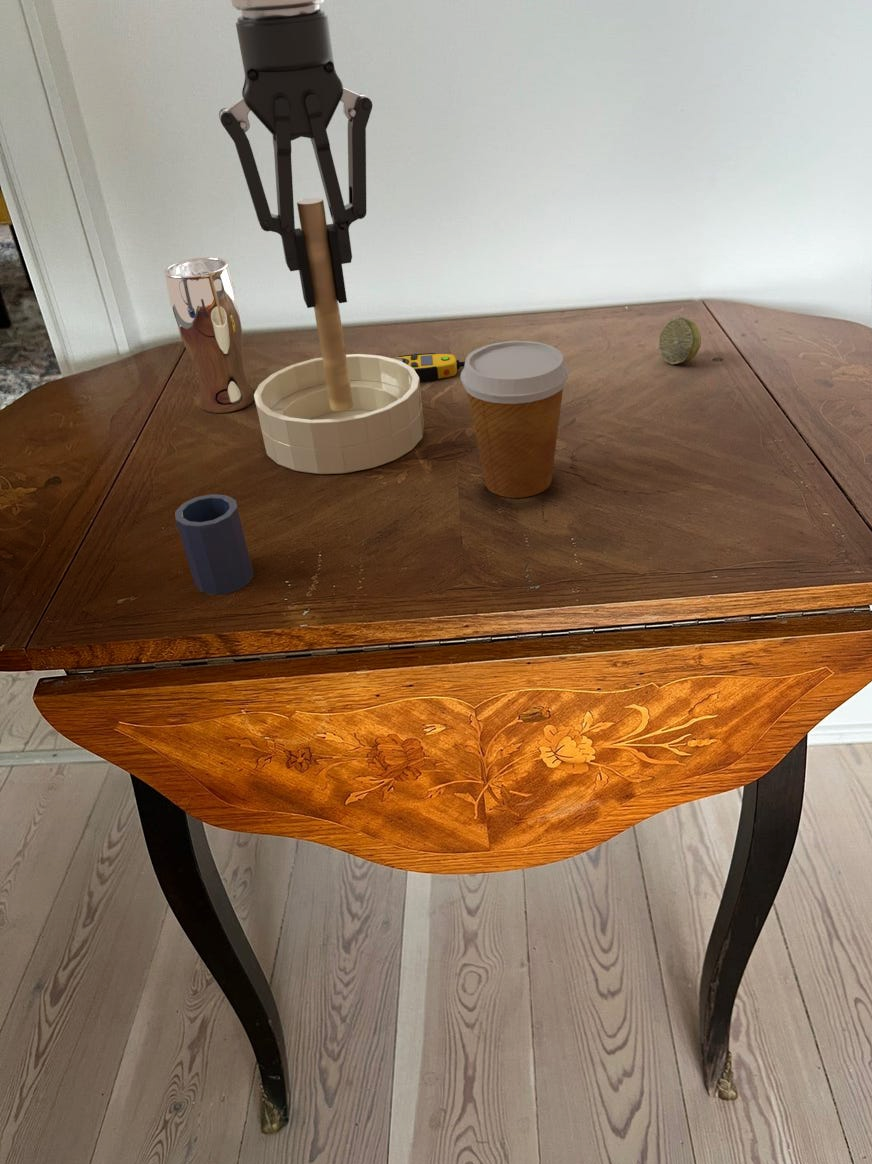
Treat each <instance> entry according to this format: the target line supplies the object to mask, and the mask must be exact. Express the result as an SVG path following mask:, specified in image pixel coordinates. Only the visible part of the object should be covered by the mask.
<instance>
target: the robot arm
mask: <svg viewBox="0 0 872 1164" xmlns="http://www.w3.org/2000/svg"><path fill="white" fill-rule="evenodd" d="M324 1H325V0H231V5H232V7H233V8H235V10H237V11H240V13H241V16H239V17H238V18H237V21H236V22H235V28H236V34H237V39H238V44H239V50H240V56H241V60H242V61H241V62H242V67H243V73H244V83H243V87H242V89H241V90H242V91H241V96H242V97H241V98H240V99H239V100H237V101H236V102H235V103H233V104H232V105H230V106H229V107H223V108H221V109H220V110H219V111H218V118H219V121H220V123H221V125H222V126H223V128H224V129H225V131H226V133H227V134H228V135H229V137H230V138H231V140H232V141H233V143H234V146H235V150H236V153H237V156H238V160H239V162H240V165H241V169H242V172H243V175H244V179H245V182H246V186H247V187H248V191H249V195H250V198H251V201H252V205H253V208H254V211H255V214H256V218H257V221H258V224H259V226H260V228H261V229H262V231H264V232H272V233H276V234H278V235H280V237H281V245H282V249H283V254H284V261H285V264H286V266H287V268H288V270H289V272H297V271H298V273H299V278H300V284H301V285H300V286H301V291H302V297H303V300H304V303H305V305H306V308H307V309H310V308H314V307H315V301H314V295H313V289H312V283H311V276H310V270H309V264H308V258H307V251H306V245H305V239H304V235H303V233H302V231H301V227H298V228H296V225H295V223H296V222H295V207H294V205H295V204H294V186H293V185H294V184H293V168H292V165H293V163H292V141H294V140H297V139H300V138H307V139H310V142H311V145H312V148H313V152H314V156H315V160H316V163H317V168H318V171H319V175H320V180H321V182H322V187H323V190H324V194H325V199H326V202H327V206H328V210H329V214H330V218H331V220H332V223H329V224H328V223H327V230H328V237H329V244H330V251H331V257H332V264H333V271H334V278H335V285H336V292H337V298H338V304H344V303H348V299H347V292H346V283H345V278H344V271H343V270H344V269H343V265H344V264H351V263H352V259H353V253H352V245H351V237H350V231H349V230H350V226H351V225H352V223H354V222H356V221H357V220H362V219H365V217H366V216H367V125H368V123H369V119H370V116H371V113H372V110H373V102H372V100H371V98H369V97H368V96H366V95H365V94H364V93H361V92H360V93H356V92H355V91H352V90H350V89H347V88H346V87H344V85H343V82H342V80H341V79H340V77H339V75H338V73H337V70H336V68H335V61H334V53H333V47H332V45H333V44H332V38H331V31H330V30H331V29H330V24H329V23H330V22H329V16H328V14H326V11H325V10H322V9H321V7H320V4H323V3H324ZM340 102H341V104H342V112H343V115H344V117H346V118H347V174H348V176H347V177H348V179H347V180H348V203H347V204H345V203H344V198H343V194H342V190H341V187H340V182H339V179H338V175H337V170H336V167H335V166H336V165H335V162H334V159H333V155H332V154H333V153H332V151H331V144H330V139H329V136H328V132H327V129H328V128H329V126H330V123H331V121H332V118H333V117H334V115H335V113H336V110H337V109H338V106H339V104H340ZM250 112H252V114H253V115H254V116H255V117H256V118H257V119H258V120H259V122H261V124H262V125H263V126H264V127H265V128H266V129H267V130H268V131H269V133H270V134H271V135H272V144H273V154H274V155H273V156H274V168H275V169H274V172H275V188H276V189H275V190H276V204H277V214H274V213H271V210H270V206H269V202H268V200H267V197H266V193H265V189H264V186H263V182H262V179H261V176H260V173H259V170H258V165H257V163H256V159H255V156H254V152H253V149H252V146H251V143H250V140H249V138H248V136H247V134H246V133H247V132H248V131H249V130H250V127H251V125H250V124H251V123H250V120H249V117H248V116H249V114H250Z"/></svg>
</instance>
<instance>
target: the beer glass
mask: <svg viewBox="0 0 872 1164" xmlns="http://www.w3.org/2000/svg"><path fill="white" fill-rule="evenodd" d="M163 273H164V277H165V281H166V282H165V283H166V287H167V288H166V289H167V293H168V299H169V304H170V308H171V312H172V315H173V319H174V322H175V326H176V329H177V331H178V334H179V336H180V338H181V340H182V343H183V345H184V347H185V350H186V351H187V354H188V356H189V358H190V361H191V363H192V365H193V368H194V370H195V373H196V377H197V381H198V388H199V403H200V404H199V405H200V407H201V408H202V409H203V410H204V411H206V412H208V413H212V414H224V413H225V414H226V413H231V412H233V413H234V412H236V411H240V410H242V409H245V408H247V407H249V406H250V405H251V404H252V403H253V402H255V399H254V393H255V392H254V390H253V389H252V387H251V384H250V382H249V379H248V376H247V372H246V369H245V362H244V352H243V350H244V349H243V326H242V315H241V310H240V303H239V299H238V295H237V290H236V287H235V285H234V281H233V278H232V277H233V276H232V274H231V271H230V268H229V263H228V261H227V260H226V259H223V258H222V257H221V258H220V257H214V256H204V257H203V256H202V257H194V258H189V259H188V258H187V259H183V260H179V261H176V262H174V263H172V264H170V265H168V266H166V267H165V269H164V271H163Z"/></svg>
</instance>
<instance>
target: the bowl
mask: <svg viewBox="0 0 872 1164" xmlns="http://www.w3.org/2000/svg"><path fill="white" fill-rule="evenodd" d="M392 358H393V357H391V358H390V357H389V356H385V355H377V354H365V353H354V354H353V353H351V354H346V359H347V365H348V372H349V379H350V386H351V393H352V400H353V407H352V408H351V409H349V410H346V411H334V410H332V409H331V408H330V403H329V397H328V391H327V385H326V379H325V373H324V366H323V360H322V356H321V357H316V358H315V357H314V358H311V359H307V360H304V361H301V362H297V363H294V364H290V365H288V366H286V367H284V368H281V369H280V370H278V371H276V372H273V373H271V374H270V375H269V376H268V377H266V378H265V379H264V380H263V381H261V382H260V383H259V384H258V385H257V388H256V389H255V391H254V392H253V393H254V404H255V408H256V413H257V417H258V422H259V426H260V431H261V435H262V436H261V437H262V441H263V444H264V448H265V453H266V455H267V456H268V457H269V458H270V459H271V460H272V461H273V462H275V463H276V464H277V465H279V466H282V467H285V468H286V469H290V470H292V471H296V472H301V473H309V474H316V475H331V474H348V473H353V472H358V471H365V470H369V469H374V468H377V467H379V466H382V465H386V464H388V463H391V462H393V461H396V460H398V459H399V458H401V457H403V456H404V455H406V454H408V453H409V452H411V451H412V450H414V448H415V447H417V445H418V443H419V442H420V441H421V440H422V439H423V436H424V430H425V421H424V410H423V399H422V391H421V382H420V379H419V377H418V375H417V373H416V372H415V370H414V368H412V367H410V366H409V365H407V364H405V363H404V362H402V361H400V360H396V359H392Z"/></svg>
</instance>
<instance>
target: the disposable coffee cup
mask: <svg viewBox="0 0 872 1164" xmlns="http://www.w3.org/2000/svg"><path fill="white" fill-rule="evenodd" d="M464 362H465V365H464V367H463V369H462V370H461V372H460V382H461V384H462V385H463V387H464V390H465V392H467V398H468V403H469V409H470V412H471V418H472V423H473V427H474V433H475V437H476V443H477V447H478V453H479V458H480V463H481V468H482V474H483V479H484V485H485V486H486V488H487V489H488V491H490V492H491V493H492V494H495V495H497V496H501V497H505V498H515V499H516V498H528V497H532V496H535V495H538V494H541V493H542V492H544V491H546V490H547V489H548V488H550V486H551V484H552V480H553V479H552V478H553V470H554V462H555V453H556V447H557V440H558V439H557V438H558V430H559V424H560V423H559V422H560V416H561V407H562V402H563V401H562V400H563V392H564V391H563V390H564V388H565V386H566V383H567V381H568V379H569V374H570V370H569V367H568V366H567V364H566V362H565V358H564V355H563V353H562V352H561V351H560V349H558V348H556V347H555V346H553V345H550V344H547V343H544V342H538V341H531V340H507V341H506V340H505V341H500V342H495V343H491V344H488V345H484V346H483V345H482V346H481V347H478V348H476V349H475V350H473V351H471V352H470V353H468V355H467V356H466V358H465V360H464Z"/></svg>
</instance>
